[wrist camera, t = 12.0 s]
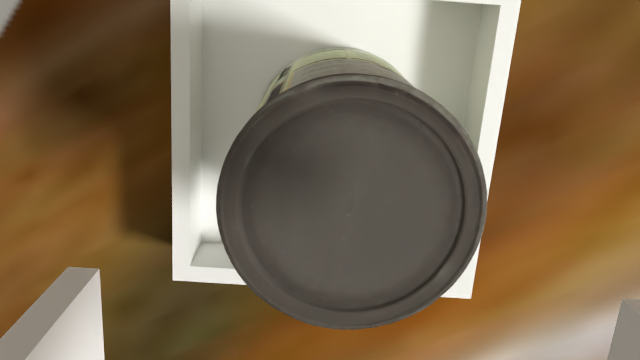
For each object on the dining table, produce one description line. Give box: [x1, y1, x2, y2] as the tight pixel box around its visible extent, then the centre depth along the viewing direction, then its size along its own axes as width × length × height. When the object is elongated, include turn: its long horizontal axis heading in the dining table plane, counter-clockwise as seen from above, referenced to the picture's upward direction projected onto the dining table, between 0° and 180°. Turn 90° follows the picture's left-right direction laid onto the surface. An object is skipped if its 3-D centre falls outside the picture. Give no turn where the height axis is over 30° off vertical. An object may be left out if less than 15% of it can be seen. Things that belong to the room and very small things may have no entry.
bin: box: [170, 0, 521, 299], centre depth 34 cm, size 18×18×4 cm
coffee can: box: [216, 47, 487, 329], centre depth 28 cm, size 10×10×14 cm
